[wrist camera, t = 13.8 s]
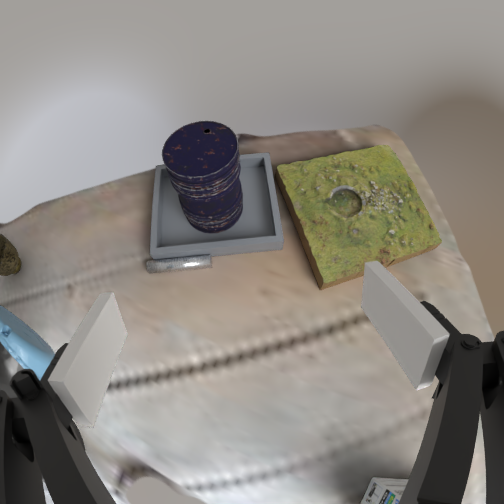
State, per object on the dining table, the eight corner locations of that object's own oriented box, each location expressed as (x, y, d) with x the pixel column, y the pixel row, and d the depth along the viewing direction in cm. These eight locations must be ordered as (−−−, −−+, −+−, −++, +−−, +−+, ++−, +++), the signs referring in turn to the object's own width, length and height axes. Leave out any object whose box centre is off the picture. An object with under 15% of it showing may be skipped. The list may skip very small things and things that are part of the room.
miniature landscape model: (434, 249, 47) (448, 238, 42) (318, 291, 45) (325, 281, 40) (383, 155, 55) (390, 139, 50) (274, 177, 53) (275, 159, 48)
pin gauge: (145, 262, 44) (149, 259, 46) (147, 274, 45) (151, 271, 47) (209, 255, 45) (211, 253, 47) (211, 269, 45) (212, 266, 47)
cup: (31, 271, 46) (6, 256, 39) (9, 290, 45) (-17, 277, 37) (25, 242, 49) (2, 225, 41) (3, 261, 47) (-20, 246, 40)
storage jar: (233, 240, 47) (224, 185, 33) (176, 227, 48) (148, 171, 34) (250, 188, 51) (248, 125, 37) (196, 178, 52) (179, 116, 38)
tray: (156, 261, 47) (149, 254, 44) (160, 175, 53) (156, 165, 50) (282, 249, 47) (283, 241, 44) (268, 163, 54) (269, 152, 51)
